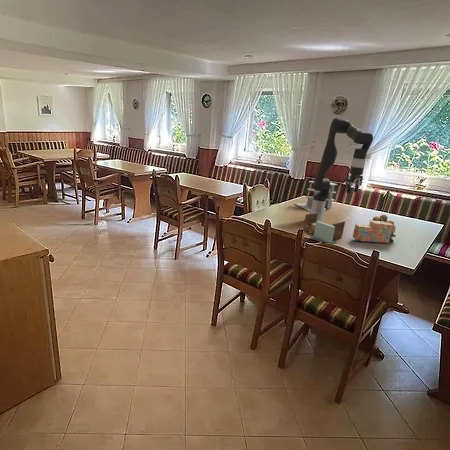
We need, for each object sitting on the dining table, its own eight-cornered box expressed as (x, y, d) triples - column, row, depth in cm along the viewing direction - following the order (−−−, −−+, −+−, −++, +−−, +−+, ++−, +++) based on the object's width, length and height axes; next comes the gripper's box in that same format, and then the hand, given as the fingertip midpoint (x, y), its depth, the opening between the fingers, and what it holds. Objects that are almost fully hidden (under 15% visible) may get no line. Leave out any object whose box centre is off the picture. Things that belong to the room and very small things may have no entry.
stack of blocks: (356, 240, 207) (360, 222, 203) (352, 237, 213) (356, 219, 209) (389, 243, 208) (394, 224, 204) (384, 239, 214) (389, 221, 210)
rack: (303, 229, 222) (305, 214, 219) (313, 227, 229) (316, 212, 226) (331, 240, 206) (334, 223, 203) (341, 237, 213) (345, 221, 210)
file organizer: (344, 211, 286) (349, 186, 279) (309, 211, 274) (313, 185, 268) (326, 203, 309) (330, 180, 302) (293, 203, 297) (297, 179, 291)
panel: (313, 236, 209) (316, 221, 206) (315, 235, 210) (318, 220, 207) (329, 242, 200) (332, 227, 197) (331, 242, 201) (335, 226, 198)
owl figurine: (365, 239, 213) (370, 214, 208) (363, 234, 224) (369, 210, 219) (395, 245, 209) (402, 219, 203) (392, 239, 219) (398, 215, 214)
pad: (309, 237, 208) (309, 236, 208) (316, 235, 213) (317, 234, 213) (328, 244, 198) (328, 244, 197) (335, 242, 203) (335, 241, 202)
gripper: (358, 165, 205) (352, 190, 210) (345, 165, 196) (340, 192, 201) (369, 167, 200) (363, 193, 205) (356, 167, 191) (351, 194, 196)
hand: (351, 192), depth 203 cm, fingers open, 8 cm apart
